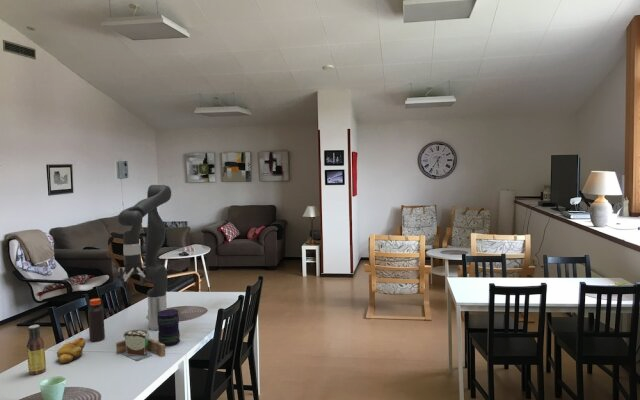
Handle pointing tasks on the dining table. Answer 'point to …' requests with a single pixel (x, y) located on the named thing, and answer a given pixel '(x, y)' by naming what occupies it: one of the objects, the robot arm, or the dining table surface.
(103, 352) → the dining table surface
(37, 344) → the sauce bottle
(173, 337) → the rusty blue oil drum
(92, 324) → the vinegar
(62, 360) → the bread roll
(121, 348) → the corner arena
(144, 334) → the food container
